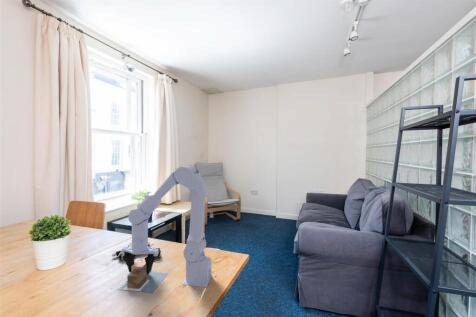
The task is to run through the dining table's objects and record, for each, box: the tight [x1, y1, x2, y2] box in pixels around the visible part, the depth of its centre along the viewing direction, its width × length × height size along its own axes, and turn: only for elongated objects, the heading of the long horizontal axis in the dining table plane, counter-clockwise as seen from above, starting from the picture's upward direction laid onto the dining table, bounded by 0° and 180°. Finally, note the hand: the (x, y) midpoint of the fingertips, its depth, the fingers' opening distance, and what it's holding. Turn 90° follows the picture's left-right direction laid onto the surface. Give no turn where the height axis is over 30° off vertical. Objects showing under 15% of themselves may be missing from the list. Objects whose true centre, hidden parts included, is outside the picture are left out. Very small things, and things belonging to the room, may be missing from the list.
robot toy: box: [111, 241, 155, 261], centre depth 101 cm, size 12×4×15 cm
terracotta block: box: [131, 259, 147, 274], centre depth 84 cm, size 4×4×4 cm
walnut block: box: [126, 269, 146, 289], centre depth 77 cm, size 4×4×4 cm
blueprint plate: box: [117, 271, 169, 294], centre depth 80 cm, size 13×12×1 cm
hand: (140, 271), depth 84 cm, fingers open, 7 cm apart
